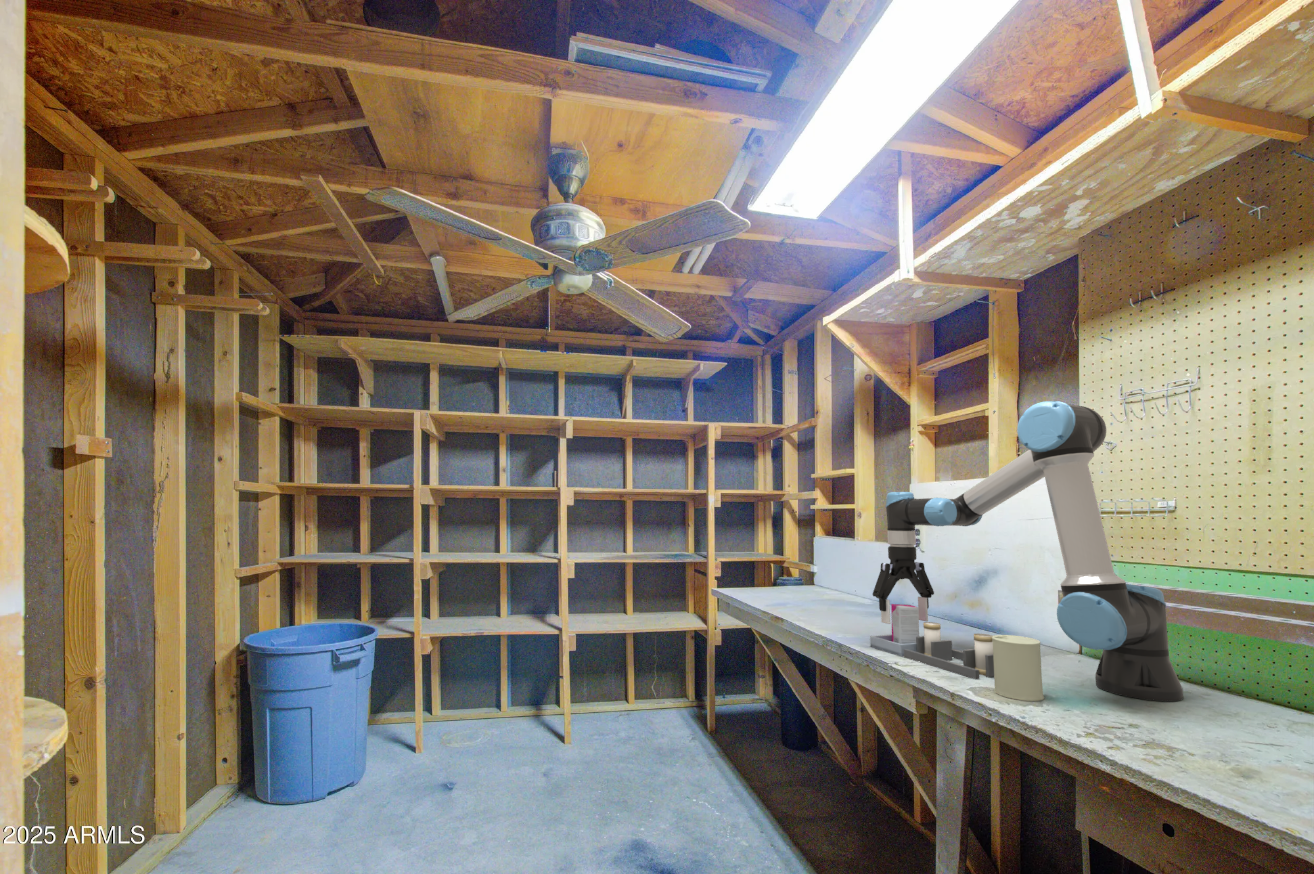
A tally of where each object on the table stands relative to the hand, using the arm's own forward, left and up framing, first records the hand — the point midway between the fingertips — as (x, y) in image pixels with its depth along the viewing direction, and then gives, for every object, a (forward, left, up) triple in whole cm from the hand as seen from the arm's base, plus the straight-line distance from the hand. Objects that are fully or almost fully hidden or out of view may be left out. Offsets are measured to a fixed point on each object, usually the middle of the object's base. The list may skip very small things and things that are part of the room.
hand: (904, 621), depth 171 cm
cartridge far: (-10, 0, -8) cm, 12 cm away
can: (-41, +8, -8) cm, 42 cm away
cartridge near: (-26, 0, -8) cm, 27 cm away
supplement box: (0, 0, -7) cm, 7 cm away
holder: (-18, 0, -8) cm, 19 cm away
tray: (0, 0, -8) cm, 8 cm away
